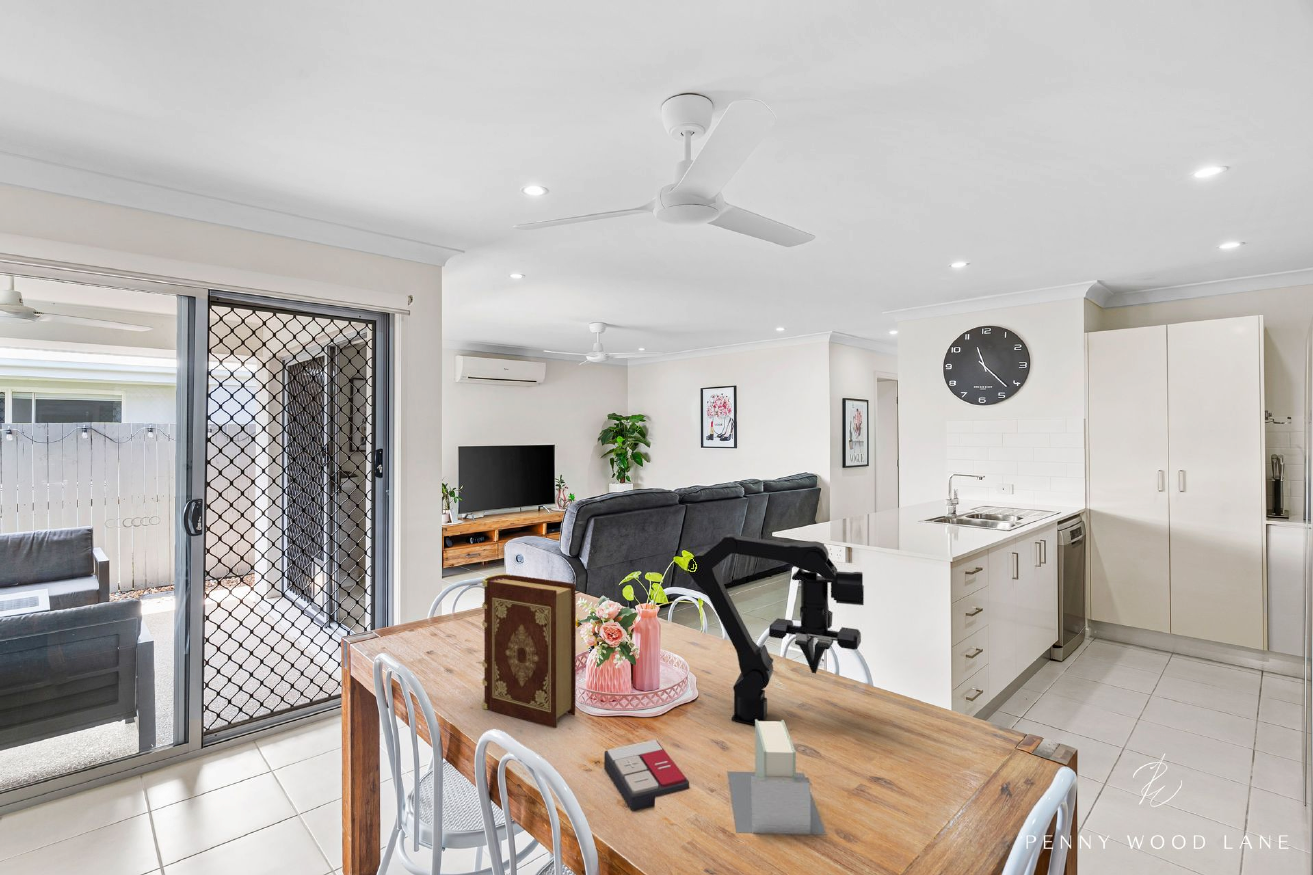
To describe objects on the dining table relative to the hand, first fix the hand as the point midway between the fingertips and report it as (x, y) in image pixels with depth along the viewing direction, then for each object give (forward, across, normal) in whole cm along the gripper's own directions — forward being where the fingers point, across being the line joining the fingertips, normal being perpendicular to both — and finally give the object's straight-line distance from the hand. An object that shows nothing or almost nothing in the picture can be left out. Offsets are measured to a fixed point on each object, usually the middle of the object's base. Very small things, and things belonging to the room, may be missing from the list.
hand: (814, 672), depth 134 cm
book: (+10, -1, +34) cm, 36 cm away
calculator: (+13, +23, +35) cm, 44 cm away
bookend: (+10, -4, +40) cm, 41 cm away
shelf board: (+12, 0, +33) cm, 35 cm away
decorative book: (+12, +61, +22) cm, 66 cm away
